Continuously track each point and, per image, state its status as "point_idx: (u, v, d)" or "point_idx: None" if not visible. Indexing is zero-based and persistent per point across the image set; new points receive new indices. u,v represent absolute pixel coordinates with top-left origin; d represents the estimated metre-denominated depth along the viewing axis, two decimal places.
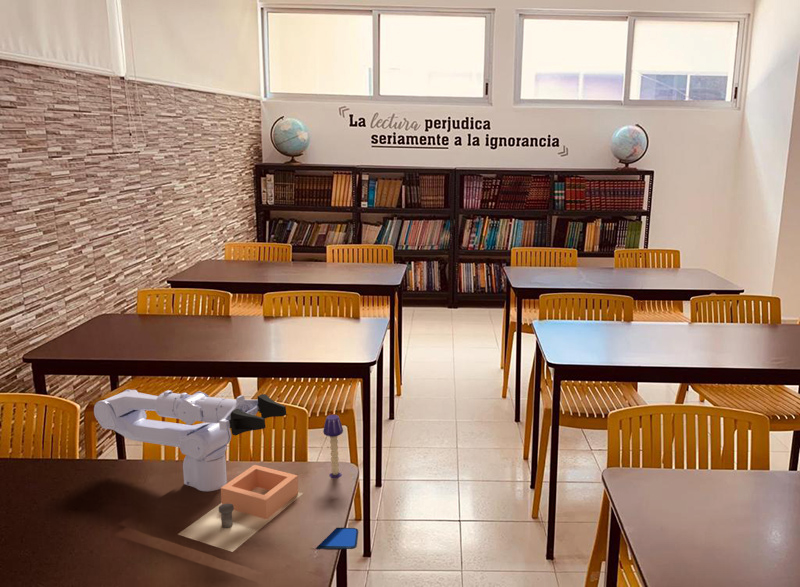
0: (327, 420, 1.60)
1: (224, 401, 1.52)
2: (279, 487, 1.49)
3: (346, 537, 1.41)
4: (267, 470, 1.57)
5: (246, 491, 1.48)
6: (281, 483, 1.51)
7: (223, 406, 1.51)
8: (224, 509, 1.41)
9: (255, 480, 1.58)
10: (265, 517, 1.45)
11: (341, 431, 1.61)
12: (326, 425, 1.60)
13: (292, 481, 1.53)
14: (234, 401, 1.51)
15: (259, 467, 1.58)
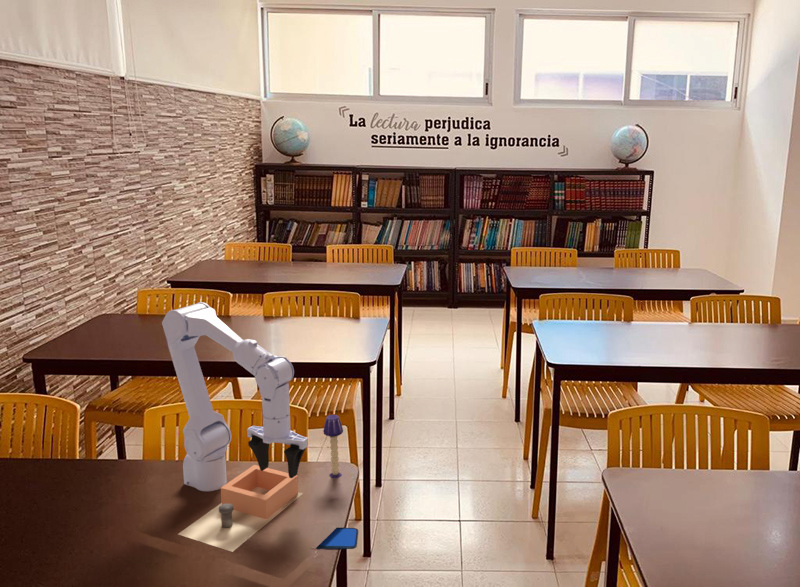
0: (327, 420, 1.60)
1: (265, 421, 1.44)
2: (279, 487, 1.49)
3: (346, 537, 1.41)
4: (267, 470, 1.57)
5: (246, 491, 1.48)
6: (281, 483, 1.51)
7: (263, 422, 1.45)
8: (224, 509, 1.41)
9: (255, 480, 1.58)
10: (265, 517, 1.45)
11: (341, 431, 1.61)
12: (326, 425, 1.60)
13: (292, 481, 1.53)
14: (267, 433, 1.44)
15: (259, 467, 1.58)
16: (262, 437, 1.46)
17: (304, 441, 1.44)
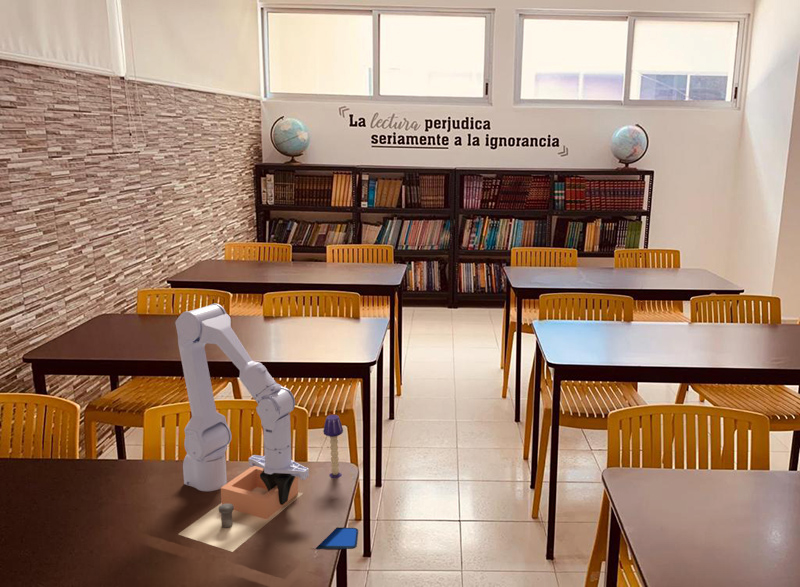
0: (327, 420, 1.60)
1: (267, 452, 1.46)
2: None
3: (346, 537, 1.41)
4: None
5: (246, 491, 1.48)
6: None
7: (264, 452, 1.47)
8: (224, 509, 1.41)
9: (255, 480, 1.58)
10: (265, 517, 1.45)
11: (341, 431, 1.61)
12: (326, 425, 1.60)
13: None
14: (268, 463, 1.46)
15: (259, 467, 1.58)
16: (263, 467, 1.47)
17: (305, 472, 1.45)
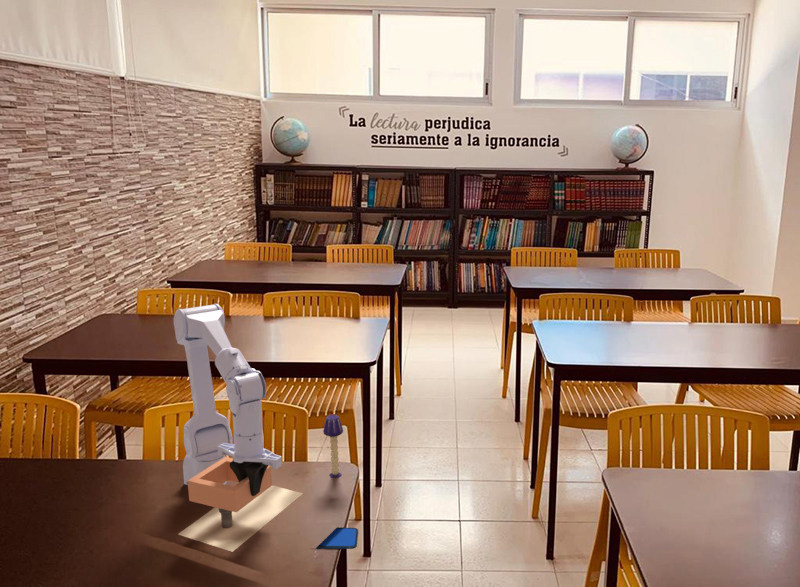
0: (327, 420, 1.60)
1: (236, 439, 1.35)
2: None
3: (346, 537, 1.41)
4: None
5: (214, 483, 1.38)
6: None
7: (234, 439, 1.37)
8: None
9: (227, 472, 1.48)
10: (235, 510, 1.35)
11: (341, 431, 1.61)
12: (326, 425, 1.60)
13: None
14: (238, 451, 1.36)
15: (230, 459, 1.48)
16: (233, 456, 1.37)
17: (277, 460, 1.35)
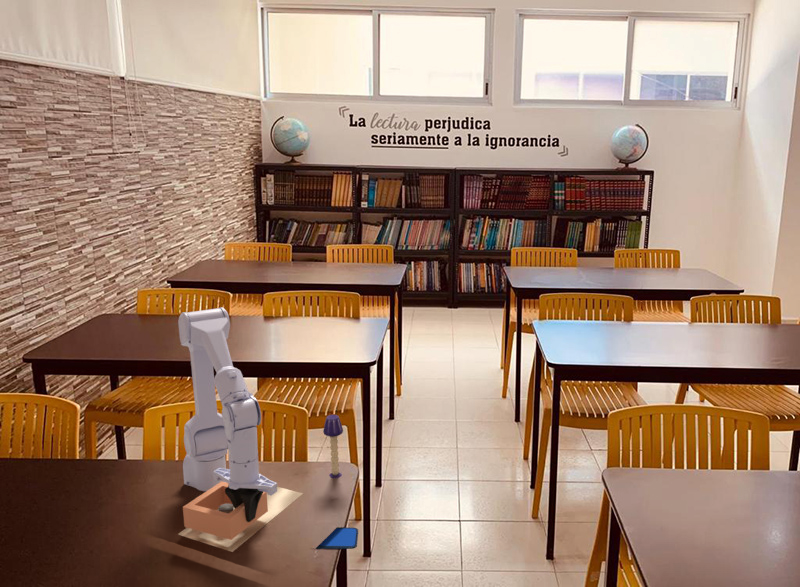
0: (327, 420, 1.60)
1: (231, 465, 1.35)
2: None
3: (346, 537, 1.41)
4: None
5: (210, 510, 1.37)
6: None
7: (229, 465, 1.36)
8: (224, 509, 1.41)
9: (223, 497, 1.48)
10: (230, 537, 1.35)
11: (341, 431, 1.61)
12: (326, 425, 1.60)
13: (260, 498, 1.42)
14: (233, 477, 1.35)
15: (226, 484, 1.48)
16: (228, 482, 1.37)
17: (273, 487, 1.35)
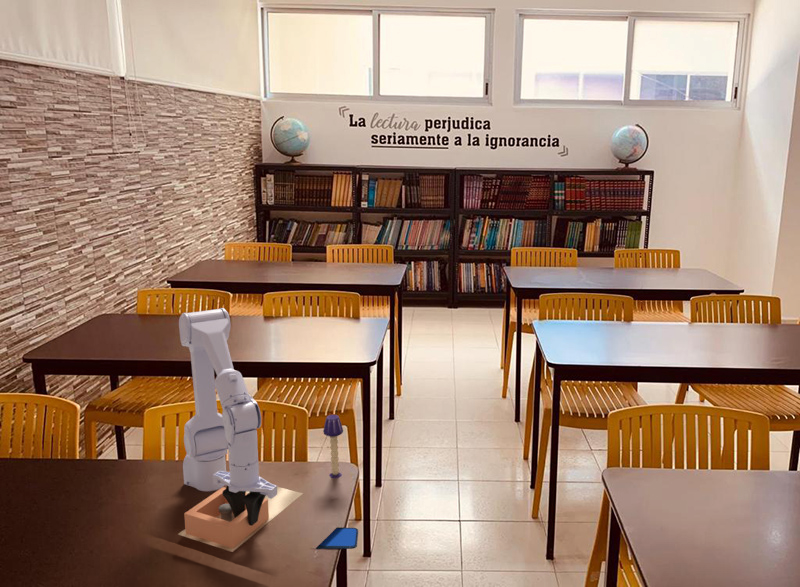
0: (327, 420, 1.60)
1: (232, 468, 1.35)
2: None
3: (346, 537, 1.41)
4: None
5: (211, 517, 1.37)
6: None
7: (229, 468, 1.36)
8: (224, 509, 1.41)
9: (224, 503, 1.48)
10: (231, 546, 1.35)
11: (341, 431, 1.61)
12: (326, 425, 1.60)
13: (261, 506, 1.43)
14: (234, 480, 1.35)
15: None
16: (228, 485, 1.37)
17: (273, 490, 1.35)
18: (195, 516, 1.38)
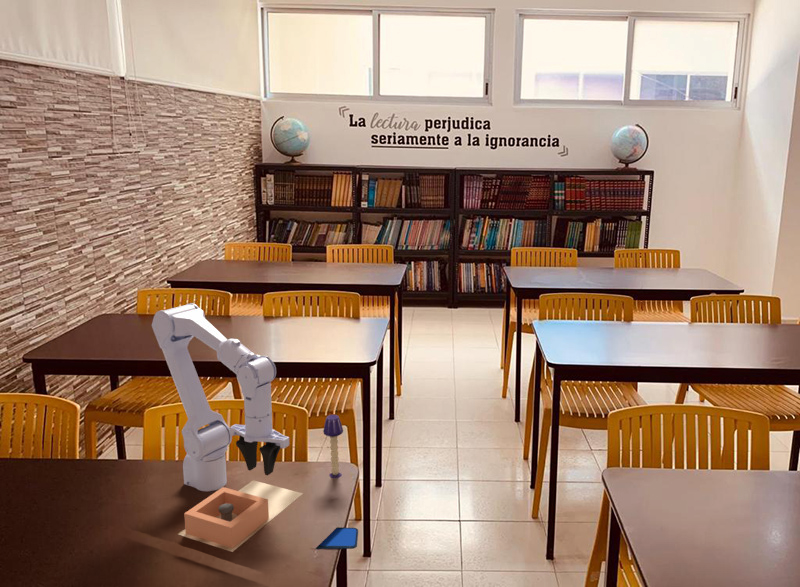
0: (327, 420, 1.60)
1: (247, 420, 1.45)
2: (247, 513, 1.39)
3: (346, 537, 1.41)
4: (236, 493, 1.47)
5: (211, 517, 1.37)
6: (250, 508, 1.41)
7: (245, 420, 1.46)
8: (224, 509, 1.41)
9: (224, 503, 1.48)
10: (231, 546, 1.35)
11: (341, 431, 1.61)
12: (326, 425, 1.60)
13: (261, 506, 1.43)
14: (249, 431, 1.45)
15: (228, 490, 1.48)
16: (244, 436, 1.46)
17: (285, 440, 1.44)
18: (195, 516, 1.38)
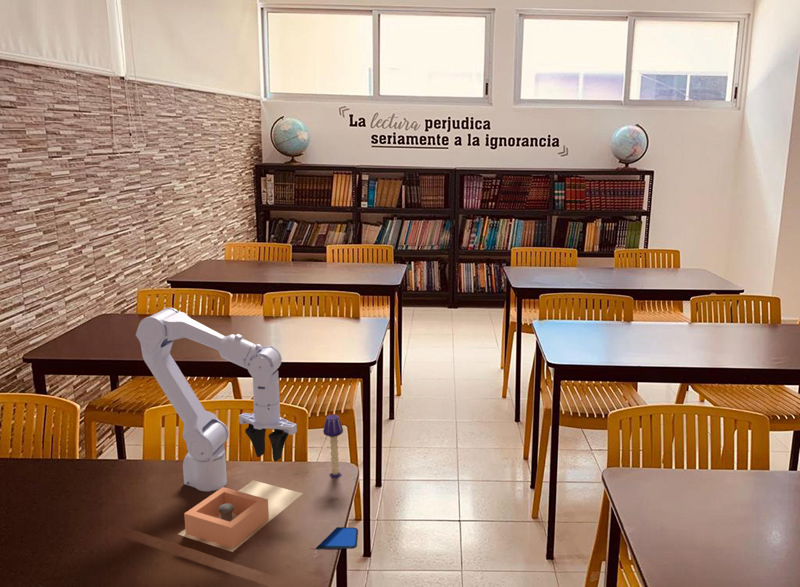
0: (327, 420, 1.60)
1: (256, 408, 1.51)
2: (247, 513, 1.39)
3: (346, 537, 1.41)
4: (236, 493, 1.47)
5: (211, 517, 1.37)
6: (250, 508, 1.41)
7: (254, 409, 1.52)
8: (224, 509, 1.41)
9: (224, 503, 1.48)
10: (231, 546, 1.35)
11: (341, 431, 1.61)
12: (326, 425, 1.60)
13: (261, 506, 1.43)
14: (258, 419, 1.51)
15: (228, 490, 1.48)
16: (253, 423, 1.53)
17: (293, 427, 1.51)
18: (195, 516, 1.38)
